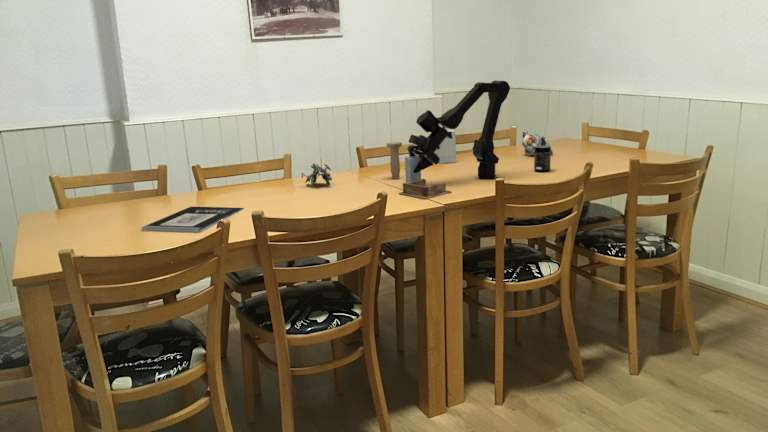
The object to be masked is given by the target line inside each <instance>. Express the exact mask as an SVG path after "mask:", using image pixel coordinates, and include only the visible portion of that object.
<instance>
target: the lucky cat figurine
mask: <svg viewBox="0 0 768 432" xmlns="http://www.w3.org/2000/svg"><path fill="white" fill-rule="evenodd" d="M545 139H546V137H545V136H543V135H542V136H540V135H539V134H538V133H536V132H528V131H523V132H522V141H521V142H522V144H521V145H522V147H523V148H524V153H525V155H526V156H534V147H535V146H540V145H546V146H551V145H550V143H549V142H548V141H547V140H545ZM553 154H554V151H553V149H551V155H553Z"/></svg>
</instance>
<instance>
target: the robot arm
mask: <svg viewBox="0 0 768 432" xmlns="http://www.w3.org/2000/svg"><path fill="white" fill-rule="evenodd" d="M510 90H511V86H510V84H509V83H508V81H506V80H497V79H496V80H493V81H491V82H476V83H475V84H474V86H473V87H472V88H471V89H470V90H469V91H468V92H467V93H466V94H465V96H463V97H462V99H461V100H460V101H459V102H458V103H457V104H456V105H455V106H454V107H453V108H450V109H448V110H447V111H446V112H444V113H443V114H442V115H441V116H440V117H436V116H435V115H434V114H433V113H432V111H431V110H426V111H425V112H423V113H422V114H421V115H419V116H417V119H416V122H415V123H416V124H417V125H418V126H419V127H420V128H421V129H422V130H424V132H425V133H429V135H427V136H425V135H422V134H420V135H414V134H410V136H409V140H408V143H410V145H409V146H407V148H406V150H407V151H408V152H407V153H408V155H409V156H408V157H410V156H417V157H420V161H419V163H418V164H417V166H416V167H415V169H414V171H413V173H417V172H419V171H421V172H422V171H423V170H425V169H428V168H429V167H432V166H434V165H436V166H438V164H440V163H439V161H440V158H439V157H438V156H437V155H436V149H440V147H439V146H440V144H441V143H442V142H443V141H444V139H445V138H446V137H447V138H450V139H452V132H450V131H447V130H455V129H457V128H459V126H460V125H461V123H462V122H463V119H464V116H465V114H466V113H467V112H468V111H469V110H470V109H471V108H472V107H473V105H474V104H475V103H477V101H478V100H479V99H480V98H481V97H482V96H483V94H485V93H488V100H489V103H488V107H487V112H486V115H485V118H484V123H483V126H482V131H481V134H480V137H479V138H478V139H474V141H473V147H472V148H471V149H472V155H473V156H474V158H475V160H476V162H477V163H479V164H478V166H477V177H478V179H480V180H483V179H484V180H488V179H489V180H490V179H491V180H494V179H496V178H497V174H496V171H497V170H496V165H498V163H499V161H500V158H499V157H498V156H497V155H496V154H495V152H494V151H495V144H494V135H495V131H496V127H497V124H498V120H499V116H500V112H501V107H502V105H503V103H504V102H505V100H506V99H507V97H508V95H509V93H510Z"/></svg>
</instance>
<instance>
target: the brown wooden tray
mask: <svg viewBox="0 0 768 432" xmlns="http://www.w3.org/2000/svg"><path fill="white" fill-rule="evenodd" d="M426 183H427V180H426V179H425V178H421V179H420V180H416V181H411V182H407V183H406V182H404V183H402V191H401V192H398V195H400V196H401V195H402V196H406V197H410V198H415V199H421V200H424V201H425V200H429V199H432V198H435V197H436V196H437V197H440V196H444V195H447V194H451V193H452V190H447V189H446V187H447V186H446V185H447V183H446V182H442V181H441V182H438V183H435V184H434V183H433V184H430V185H427V184H426ZM437 197H436V198H437Z"/></svg>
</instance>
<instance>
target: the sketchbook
mask: <svg viewBox="0 0 768 432" xmlns="http://www.w3.org/2000/svg"><path fill="white" fill-rule="evenodd" d="M243 209H244V210H245V208H244V207H225V206H222V207H221V206H188V207H186V208H184V209H181V210H179V211H177V212H174V213H172V214H169V215H168V216H166V217H162V218H161V219H160V218H159V219H158V220H156V221H154V222H151V223H148V224H147V225H143V226H141V231H142V232H147V231H148V232H157V233H158V232H159V233H161V232H162V233H163V232H164V233H165V232H169V233H170V232H171V233H175V232H176V233H181V234H182V233H192V234H194V233H195V234H197V233H203V232H204V231H206V230H208V229H210V228H212V227H214V226H215V225H218V224H217V222H218V221H219V220H221V219H225V220H227V219H229V218H231V217H233V216H235V215H236V214H235V213H237V212H238V213H240V212H242V211H244V210H243ZM241 210H242V211H241ZM239 211H240V212H239ZM238 213H237V214H238ZM234 214H235V215H234ZM232 215H233V216H232ZM230 216H231V217H230Z"/></svg>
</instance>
